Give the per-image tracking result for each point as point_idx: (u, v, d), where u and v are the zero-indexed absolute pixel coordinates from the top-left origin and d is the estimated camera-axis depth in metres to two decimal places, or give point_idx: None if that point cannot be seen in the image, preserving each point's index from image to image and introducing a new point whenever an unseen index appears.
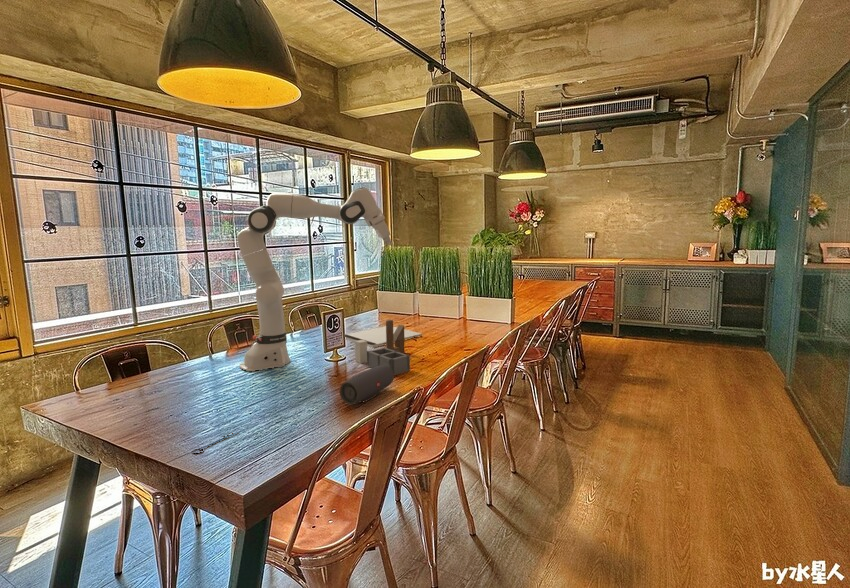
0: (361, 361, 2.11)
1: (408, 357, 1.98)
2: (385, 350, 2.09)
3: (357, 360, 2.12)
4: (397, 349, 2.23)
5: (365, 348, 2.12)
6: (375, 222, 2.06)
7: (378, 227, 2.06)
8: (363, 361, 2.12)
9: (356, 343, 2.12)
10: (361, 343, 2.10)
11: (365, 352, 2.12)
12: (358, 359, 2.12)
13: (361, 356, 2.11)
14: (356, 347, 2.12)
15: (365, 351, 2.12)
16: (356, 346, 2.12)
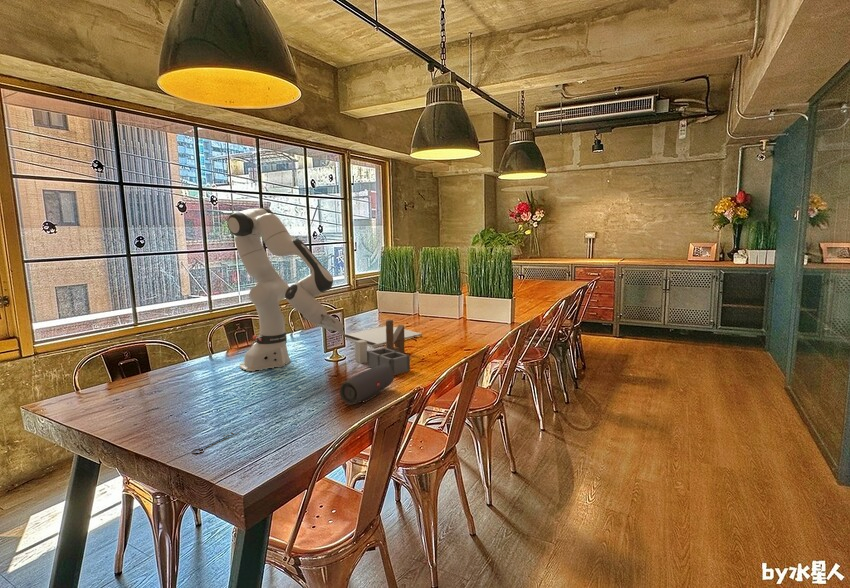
0: (361, 361, 2.11)
1: (408, 357, 1.98)
2: (385, 350, 2.09)
3: (357, 360, 2.12)
4: (397, 349, 2.23)
5: (365, 348, 2.12)
6: None
7: None
8: (363, 361, 2.12)
9: (356, 343, 2.12)
10: (361, 343, 2.10)
11: (365, 352, 2.12)
12: (358, 359, 2.12)
13: (361, 356, 2.11)
14: (356, 347, 2.12)
15: (365, 351, 2.12)
16: (356, 346, 2.12)
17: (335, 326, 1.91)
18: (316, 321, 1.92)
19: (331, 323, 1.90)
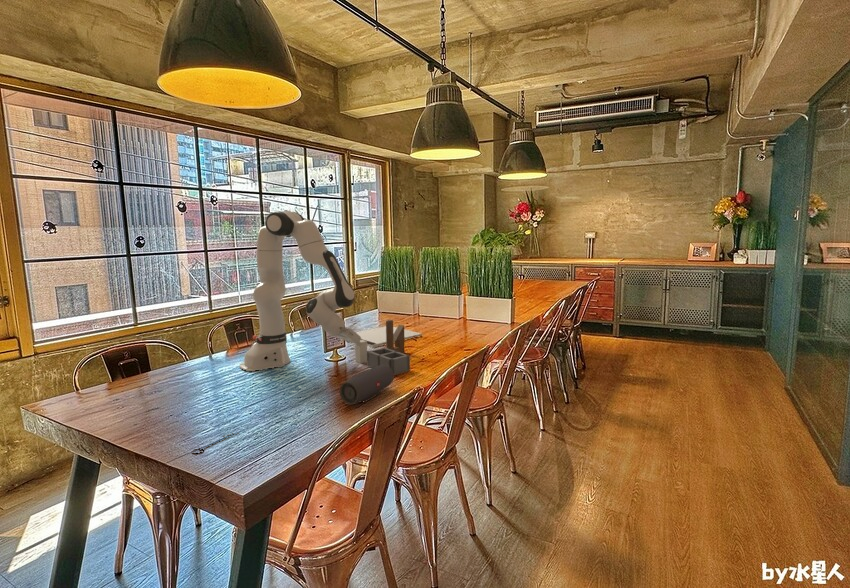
0: (361, 361, 2.11)
1: (408, 357, 1.98)
2: (385, 350, 2.09)
3: (357, 360, 2.12)
4: (397, 349, 2.23)
5: (365, 348, 2.12)
6: None
7: None
8: (363, 361, 2.12)
9: None
10: None
11: (365, 352, 2.12)
12: (358, 359, 2.12)
13: (361, 356, 2.11)
14: (356, 347, 2.12)
15: (365, 351, 2.12)
16: (356, 346, 2.12)
17: (353, 338, 1.97)
18: (335, 333, 1.99)
19: (349, 335, 1.96)
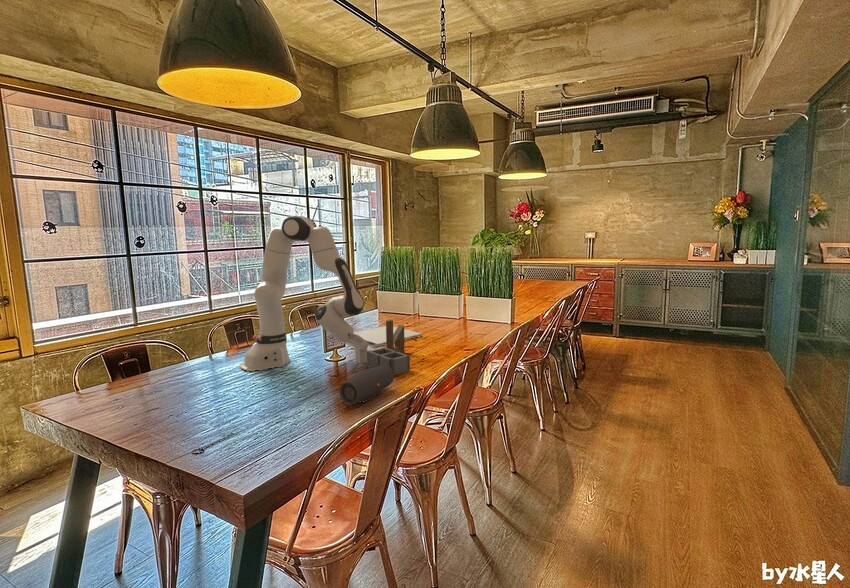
0: (361, 361, 2.11)
1: (408, 357, 1.98)
2: (385, 350, 2.09)
3: (357, 360, 2.12)
4: (397, 349, 2.23)
5: None
6: None
7: None
8: (363, 361, 2.12)
9: None
10: None
11: (365, 352, 2.12)
12: (358, 359, 2.12)
13: (361, 356, 2.11)
14: None
15: None
16: None
17: (361, 345, 2.01)
18: (343, 340, 2.02)
19: (357, 342, 2.00)
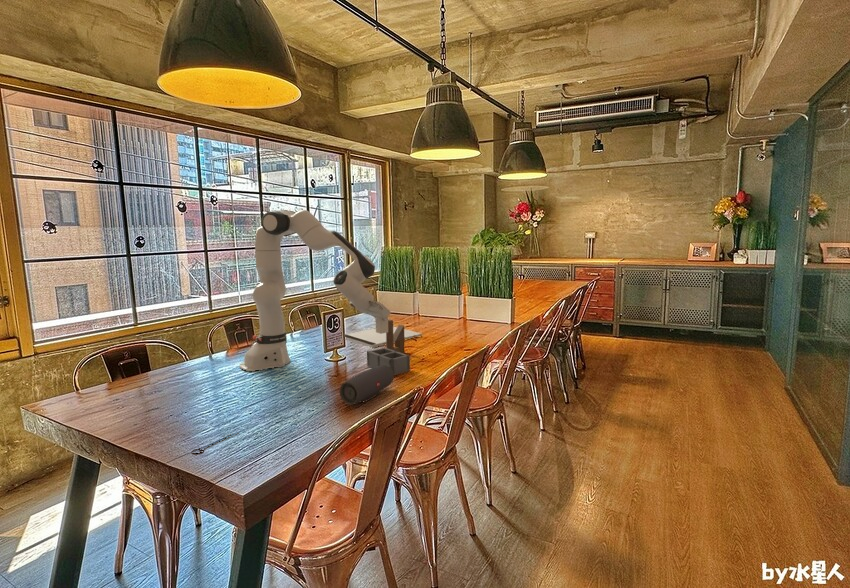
0: (382, 331, 2.01)
1: (408, 357, 1.98)
2: (385, 350, 2.09)
3: (377, 330, 2.03)
4: (397, 349, 2.23)
5: None
6: None
7: None
8: (384, 331, 2.02)
9: None
10: None
11: (386, 322, 2.02)
12: (379, 329, 2.02)
13: (382, 326, 2.01)
14: (376, 316, 2.02)
15: (386, 321, 2.02)
16: None
17: (383, 313, 1.91)
18: (363, 307, 1.92)
19: (379, 310, 1.90)
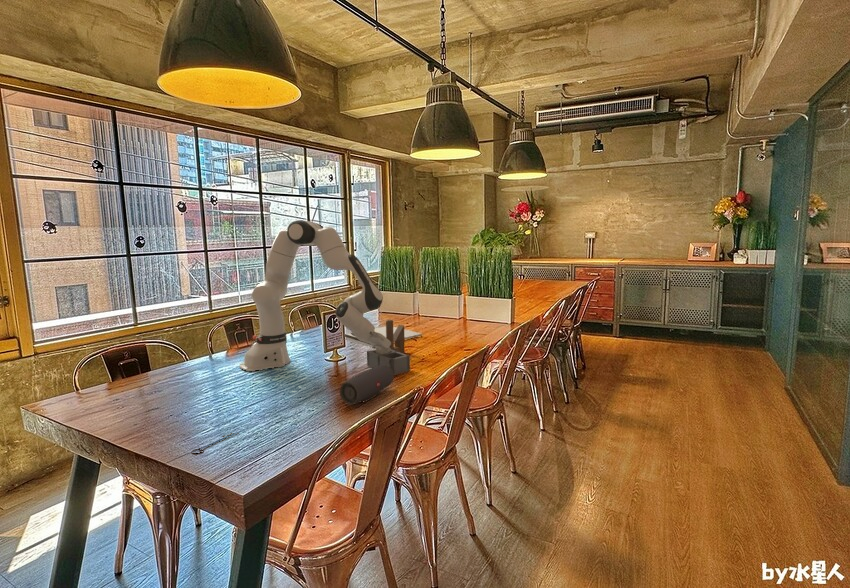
0: None
1: (408, 357, 1.98)
2: None
3: None
4: (397, 349, 2.23)
5: None
6: None
7: None
8: None
9: None
10: None
11: None
12: None
13: None
14: (377, 348, 2.04)
15: None
16: (377, 348, 2.04)
17: (383, 344, 1.93)
18: (364, 338, 1.94)
19: (380, 341, 1.92)
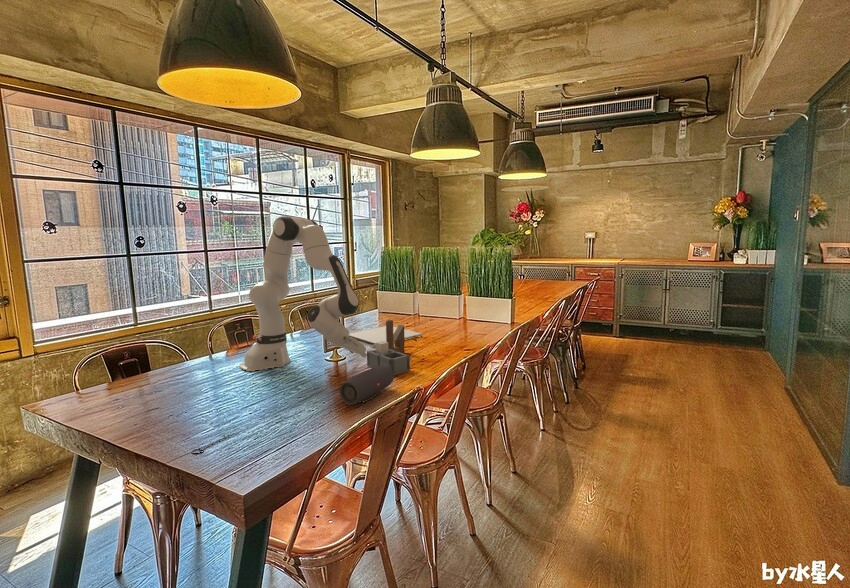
0: None
1: (408, 357, 1.98)
2: None
3: None
4: (397, 349, 2.23)
5: (386, 350, 2.04)
6: None
7: None
8: None
9: (377, 345, 2.04)
10: (382, 344, 2.02)
11: None
12: None
13: None
14: (377, 348, 2.04)
15: None
16: (377, 348, 2.04)
17: (358, 349, 1.84)
18: (338, 343, 1.86)
19: (354, 346, 1.83)
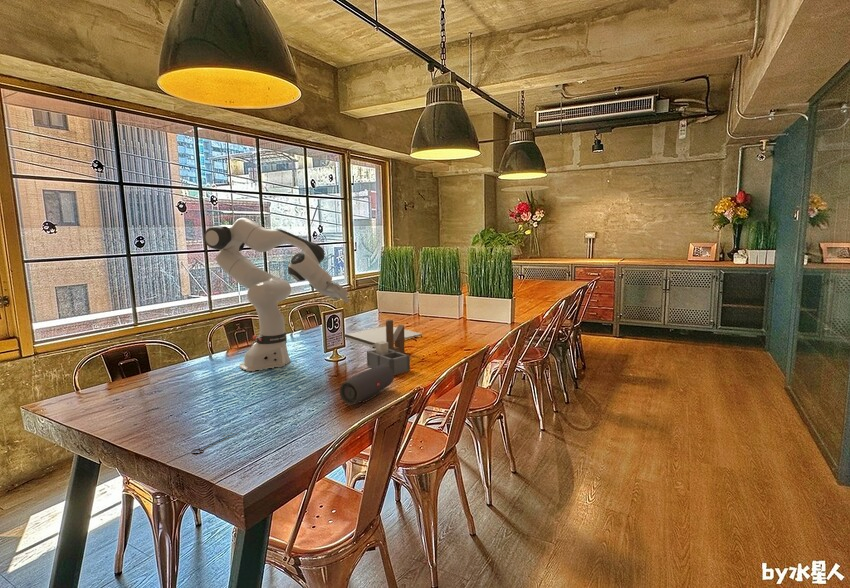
0: None
1: (408, 357, 1.98)
2: None
3: None
4: (397, 349, 2.23)
5: (386, 350, 2.04)
6: None
7: None
8: None
9: (377, 345, 2.04)
10: (382, 344, 2.02)
11: None
12: None
13: None
14: (377, 348, 2.04)
15: None
16: (377, 348, 2.04)
17: (340, 293, 1.96)
18: (321, 288, 1.98)
19: (336, 290, 1.96)
